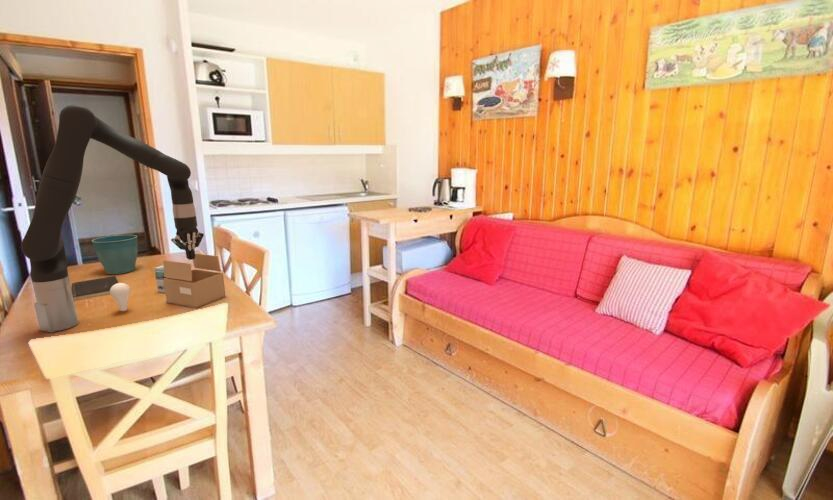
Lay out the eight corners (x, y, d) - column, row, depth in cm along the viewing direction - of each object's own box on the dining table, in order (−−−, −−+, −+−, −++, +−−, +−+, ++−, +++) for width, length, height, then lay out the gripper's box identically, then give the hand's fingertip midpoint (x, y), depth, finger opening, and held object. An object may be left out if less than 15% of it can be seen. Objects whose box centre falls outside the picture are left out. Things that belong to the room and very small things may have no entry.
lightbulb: (130, 306, 157) (125, 279, 154) (136, 310, 153) (131, 282, 150) (111, 311, 152) (106, 283, 149) (116, 315, 148) (111, 287, 146)
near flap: (192, 280, 153) (191, 281, 152) (165, 276, 158) (164, 276, 158) (191, 263, 152) (190, 264, 151) (164, 260, 157) (163, 260, 157)
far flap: (217, 256, 162) (218, 256, 163) (191, 253, 168) (192, 252, 168) (220, 271, 165) (221, 271, 165) (194, 267, 170) (195, 267, 170)
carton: (196, 308, 155) (192, 283, 152) (166, 302, 161) (162, 278, 158) (225, 296, 167) (222, 273, 165) (197, 291, 173) (194, 269, 171)
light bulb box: (170, 293, 171) (167, 268, 169) (157, 292, 173) (153, 268, 170) (189, 285, 182) (186, 262, 179) (176, 284, 183) (172, 261, 180)
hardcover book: (116, 280, 191) (115, 275, 190) (121, 293, 173) (120, 288, 173) (72, 287, 181) (71, 283, 180) (73, 302, 163) (72, 296, 163)
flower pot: (104, 268, 208) (98, 236, 204) (146, 264, 215) (140, 233, 211) (93, 278, 192) (86, 243, 188) (138, 274, 199) (132, 240, 194)
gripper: (176, 218, 148) (183, 264, 153) (206, 213, 160) (212, 255, 164) (161, 217, 151) (169, 262, 155) (192, 212, 163) (198, 254, 167)
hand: (191, 259), depth 160 cm, fingers closed
